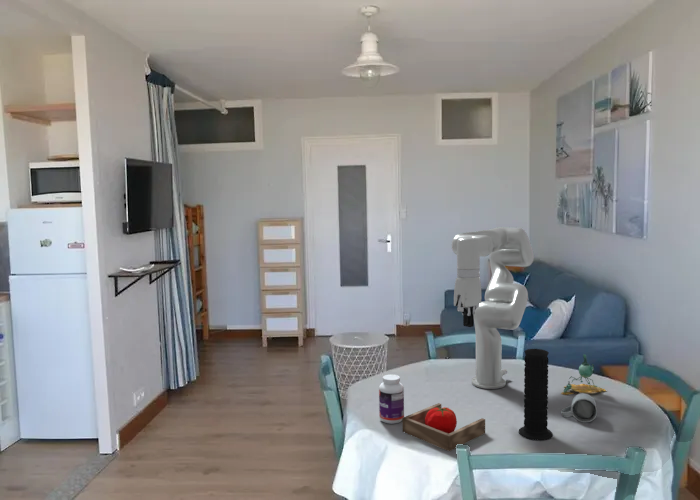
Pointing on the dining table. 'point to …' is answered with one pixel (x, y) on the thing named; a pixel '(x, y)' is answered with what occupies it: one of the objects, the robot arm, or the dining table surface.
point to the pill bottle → (391, 399)
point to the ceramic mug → (581, 408)
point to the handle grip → (536, 396)
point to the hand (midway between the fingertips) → (468, 326)
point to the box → (446, 441)
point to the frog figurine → (585, 372)
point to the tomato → (441, 419)
